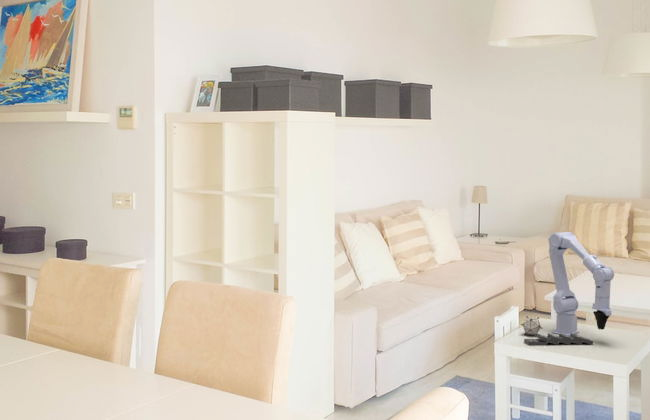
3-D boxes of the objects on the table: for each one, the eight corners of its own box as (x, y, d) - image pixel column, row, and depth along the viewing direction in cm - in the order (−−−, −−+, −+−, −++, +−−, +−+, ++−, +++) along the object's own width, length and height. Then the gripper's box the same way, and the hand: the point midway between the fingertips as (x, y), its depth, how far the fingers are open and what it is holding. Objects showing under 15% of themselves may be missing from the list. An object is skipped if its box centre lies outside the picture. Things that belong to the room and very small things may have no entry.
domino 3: (565, 338, 316) (548, 333, 315) (570, 341, 311) (552, 336, 310) (564, 341, 316) (547, 336, 315) (569, 345, 311) (551, 339, 310)
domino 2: (554, 338, 315) (536, 333, 314) (559, 341, 310) (541, 336, 309) (552, 341, 315) (535, 336, 314) (557, 345, 310) (540, 339, 309)
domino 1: (542, 338, 315) (524, 338, 314) (547, 341, 310) (528, 342, 309) (542, 342, 315) (524, 342, 314) (547, 345, 310) (528, 345, 309)
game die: (526, 343, 327) (516, 322, 332) (544, 336, 328) (534, 315, 332) (529, 337, 319) (518, 316, 324) (547, 330, 320) (537, 309, 324)
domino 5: (588, 338, 316) (570, 333, 316) (593, 341, 311) (575, 336, 311) (587, 341, 317) (569, 336, 316) (592, 344, 312) (574, 339, 311)
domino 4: (577, 338, 316) (559, 333, 315) (582, 341, 311) (564, 336, 310) (576, 341, 316) (558, 336, 315) (581, 345, 311) (563, 339, 310)
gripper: (586, 293, 320) (584, 324, 321) (599, 300, 305) (598, 333, 307) (602, 293, 320) (601, 324, 321) (617, 300, 306) (615, 333, 307)
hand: (600, 329), depth 314 cm, fingers closed
